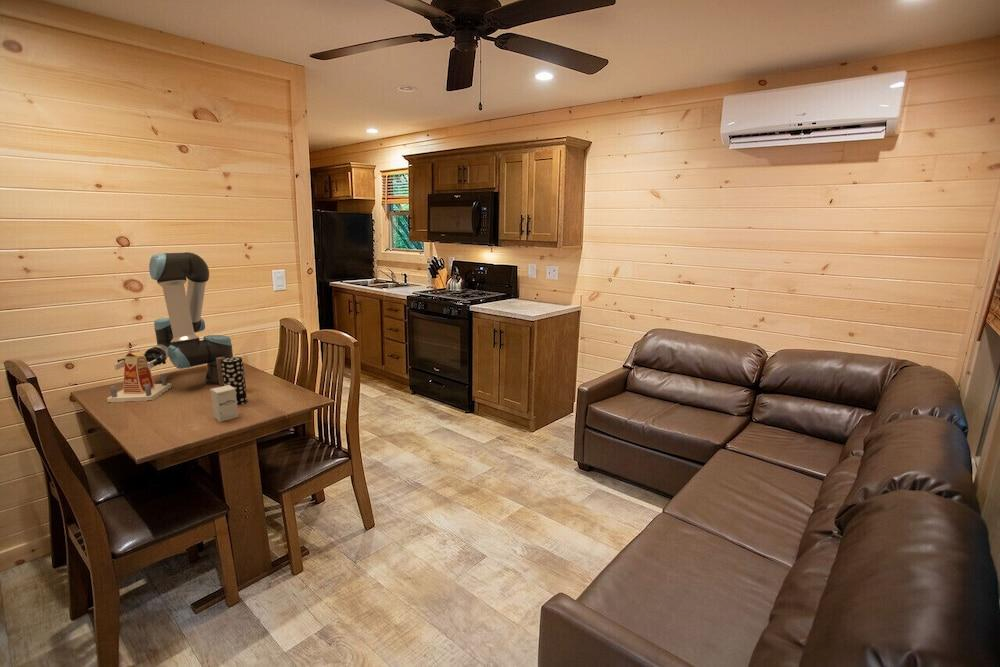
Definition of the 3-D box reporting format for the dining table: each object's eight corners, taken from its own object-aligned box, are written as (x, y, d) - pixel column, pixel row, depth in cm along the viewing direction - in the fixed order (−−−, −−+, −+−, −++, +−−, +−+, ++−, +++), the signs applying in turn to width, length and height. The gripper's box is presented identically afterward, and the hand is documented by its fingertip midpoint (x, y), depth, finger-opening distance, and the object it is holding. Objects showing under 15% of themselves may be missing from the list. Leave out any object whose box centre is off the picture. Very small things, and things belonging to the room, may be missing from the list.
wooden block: (246, 391, 232) (242, 355, 228) (221, 396, 224) (216, 359, 220) (244, 389, 234) (239, 353, 230) (219, 394, 227) (214, 357, 223)
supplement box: (219, 422, 197) (215, 393, 194) (213, 417, 202) (209, 388, 199) (239, 417, 202) (235, 388, 199) (232, 412, 207) (229, 384, 204)
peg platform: (171, 387, 236) (169, 373, 235) (152, 400, 219) (149, 386, 217) (131, 388, 234) (128, 374, 232) (107, 402, 216) (104, 387, 215)
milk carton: (143, 394, 221) (135, 351, 217) (122, 393, 221) (115, 351, 217) (156, 387, 230) (150, 346, 226) (137, 387, 230) (130, 346, 226)
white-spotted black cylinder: (238, 398, 223) (233, 356, 219) (251, 401, 220) (246, 358, 215) (221, 404, 216) (216, 360, 211) (234, 407, 212) (228, 363, 208)
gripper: (185, 360, 243) (163, 373, 222) (130, 362, 239) (102, 375, 219) (183, 346, 241) (160, 357, 221) (127, 347, 237) (99, 359, 217)
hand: (131, 366), depth 220 cm, fingers open, 13 cm apart
